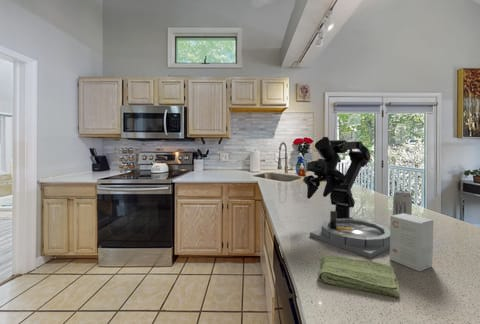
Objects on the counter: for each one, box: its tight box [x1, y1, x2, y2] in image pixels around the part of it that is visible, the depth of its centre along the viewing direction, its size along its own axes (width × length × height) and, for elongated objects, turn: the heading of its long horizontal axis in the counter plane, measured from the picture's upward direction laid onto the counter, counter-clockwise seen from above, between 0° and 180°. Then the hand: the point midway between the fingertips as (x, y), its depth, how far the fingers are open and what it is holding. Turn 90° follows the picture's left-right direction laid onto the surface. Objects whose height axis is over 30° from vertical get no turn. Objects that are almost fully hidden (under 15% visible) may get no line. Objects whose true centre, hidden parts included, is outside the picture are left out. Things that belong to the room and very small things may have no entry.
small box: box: [389, 213, 434, 272], centre depth 68 cm, size 8×6×13 cm
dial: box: [329, 210, 382, 237], centre depth 87 cm, size 17×17×7 cm
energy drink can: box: [392, 190, 413, 215], centre depth 95 cm, size 6×6×15 cm
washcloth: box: [317, 254, 401, 298], centre depth 62 cm, size 13×18×3 cm
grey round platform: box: [309, 218, 390, 259], centre depth 87 cm, size 22×22×4 cm
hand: (315, 197), depth 94 cm, fingers open, 9 cm apart
